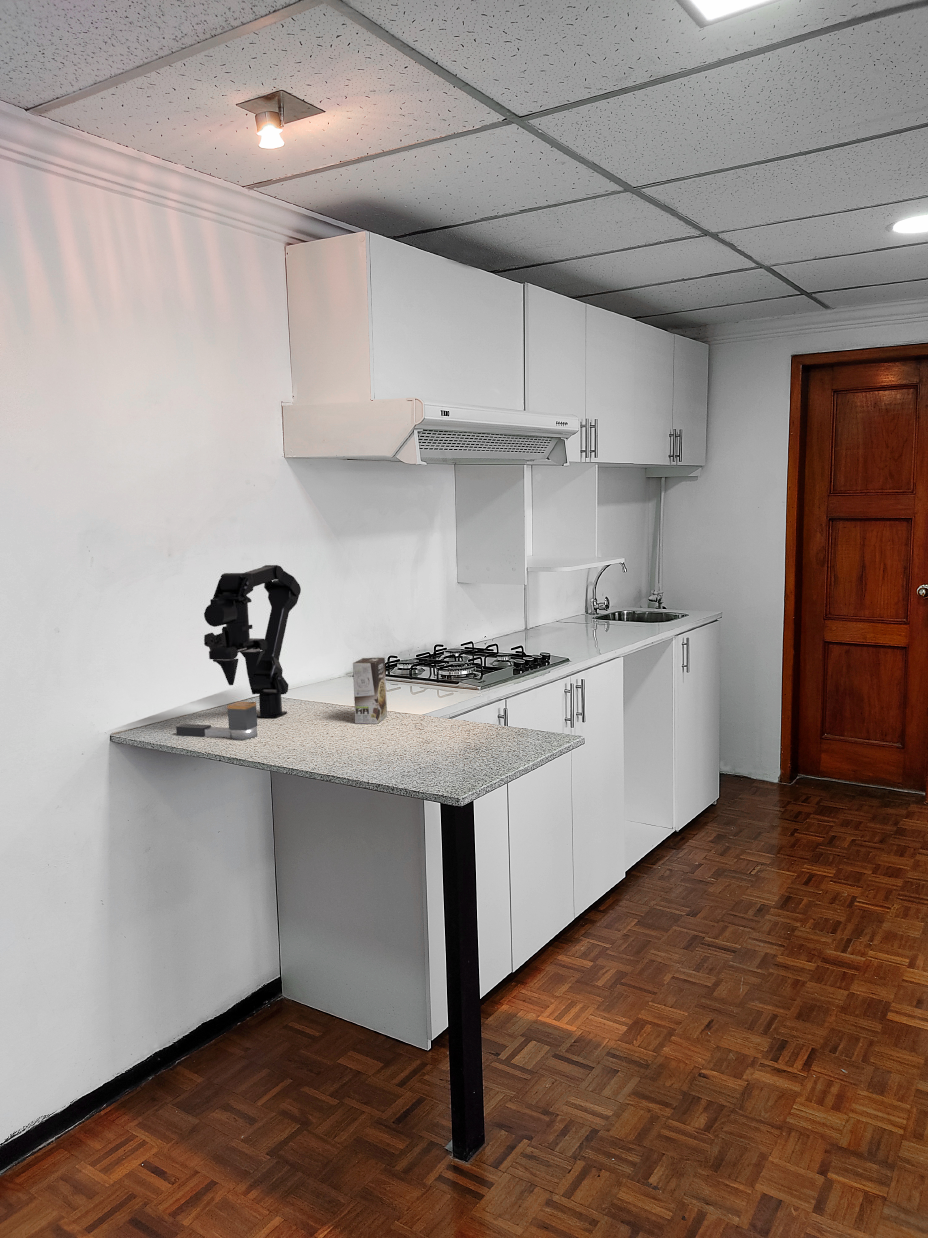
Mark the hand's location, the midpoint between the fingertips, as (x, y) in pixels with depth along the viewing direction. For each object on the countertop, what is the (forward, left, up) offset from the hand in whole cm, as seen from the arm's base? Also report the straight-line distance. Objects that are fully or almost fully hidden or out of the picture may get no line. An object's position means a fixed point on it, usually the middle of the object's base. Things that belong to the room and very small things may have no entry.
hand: (240, 681), depth 239 cm
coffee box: (-14, +30, -12) cm, 35 cm away
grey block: (+9, +6, -10) cm, 15 cm away
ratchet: (+9, -2, -12) cm, 15 cm away
